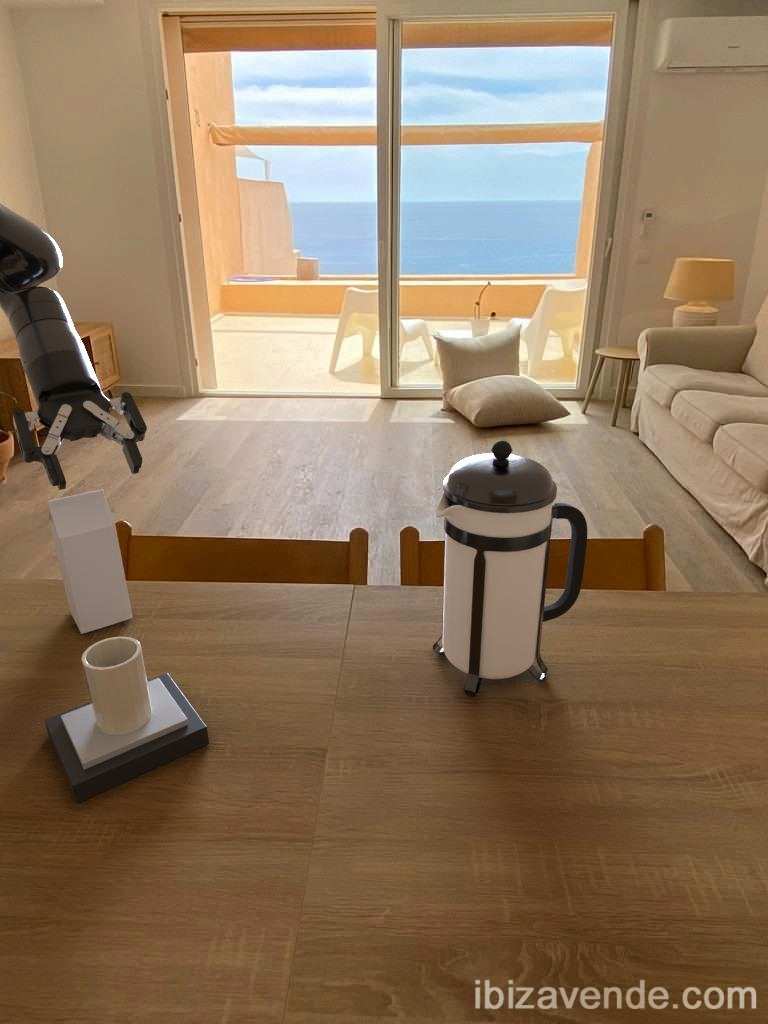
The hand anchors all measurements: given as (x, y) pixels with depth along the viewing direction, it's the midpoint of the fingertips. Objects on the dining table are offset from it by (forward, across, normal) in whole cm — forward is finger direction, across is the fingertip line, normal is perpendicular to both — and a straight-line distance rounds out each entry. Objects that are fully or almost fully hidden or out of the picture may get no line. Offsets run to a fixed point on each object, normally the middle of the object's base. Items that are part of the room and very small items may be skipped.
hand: (100, 478), depth 83 cm
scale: (+29, -6, +6) cm, 30 cm away
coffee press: (+39, +37, -4) cm, 54 cm away
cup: (+27, -6, +3) cm, 28 cm away
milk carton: (+10, -1, +26) cm, 27 cm away
